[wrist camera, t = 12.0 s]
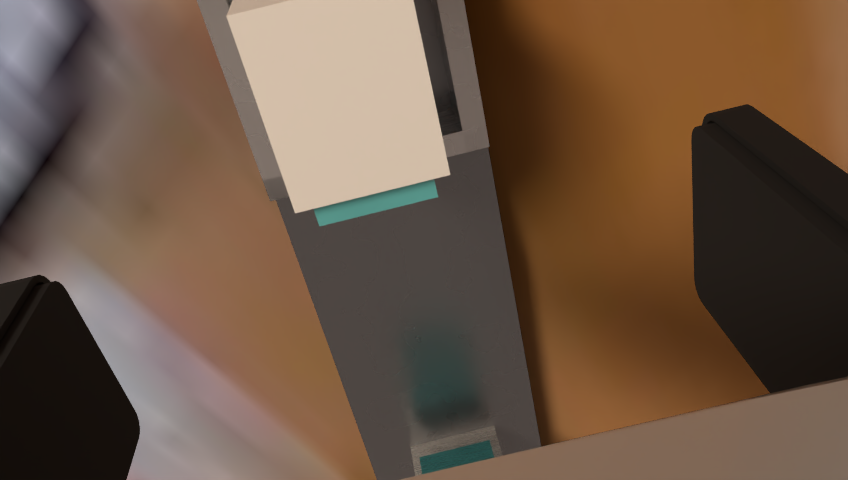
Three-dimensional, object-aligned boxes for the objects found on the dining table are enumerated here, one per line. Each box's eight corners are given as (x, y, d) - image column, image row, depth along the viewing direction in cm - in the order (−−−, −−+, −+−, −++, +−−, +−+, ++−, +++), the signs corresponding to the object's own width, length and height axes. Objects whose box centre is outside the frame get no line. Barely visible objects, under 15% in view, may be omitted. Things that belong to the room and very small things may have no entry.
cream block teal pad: (378, -80, 23) (407, -29, 16) (418, 95, 26) (456, 202, 19) (252, -50, 23) (226, 16, 16) (306, 123, 26) (304, 240, 19)
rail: (545, 493, 40) (605, 672, 31) (401, 529, 40) (423, 717, 31) (424, -177, 23) (485, -164, 15) (172, -115, 23) (95, -68, 15)
